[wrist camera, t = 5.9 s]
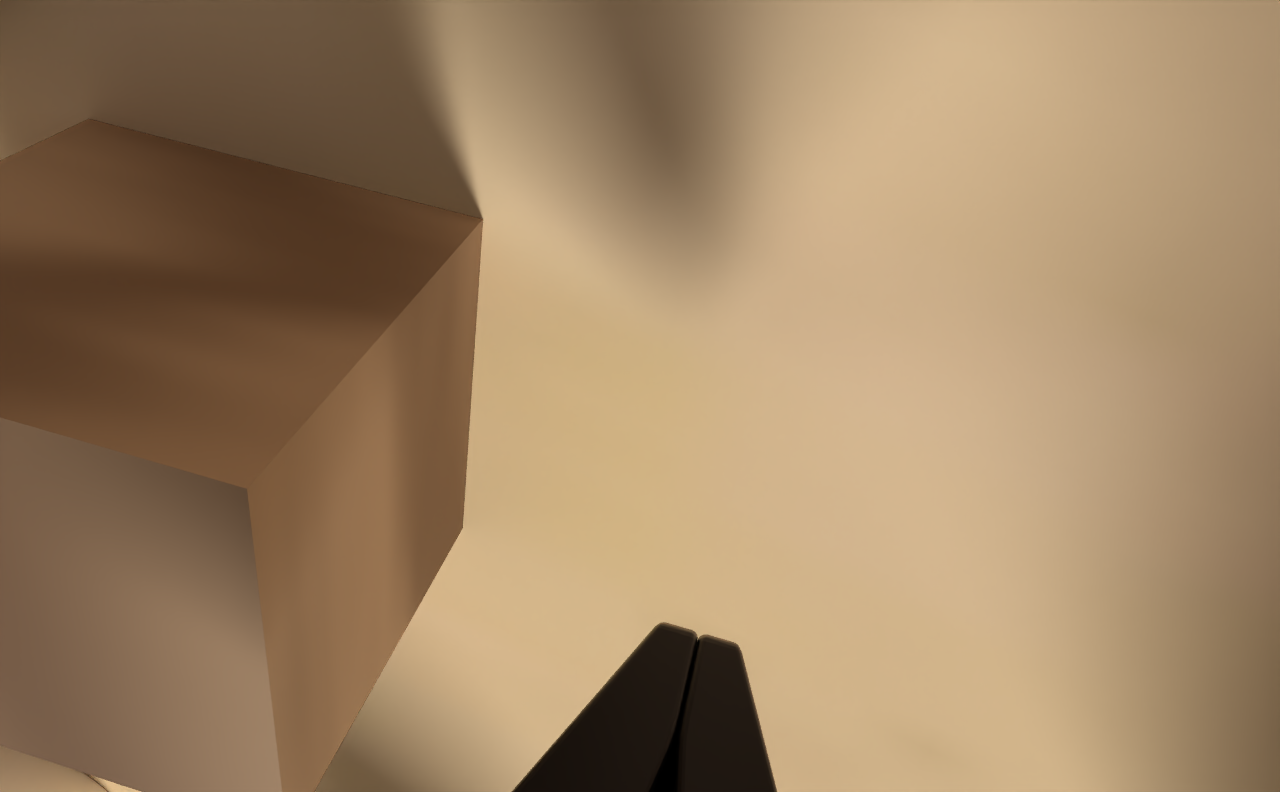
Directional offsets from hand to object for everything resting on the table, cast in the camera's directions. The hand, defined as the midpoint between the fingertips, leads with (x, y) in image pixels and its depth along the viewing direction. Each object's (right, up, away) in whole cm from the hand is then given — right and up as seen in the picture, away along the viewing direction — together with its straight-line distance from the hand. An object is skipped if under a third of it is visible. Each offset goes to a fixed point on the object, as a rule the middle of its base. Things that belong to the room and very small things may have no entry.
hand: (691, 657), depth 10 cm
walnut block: (-5, +3, +3) cm, 7 cm away
